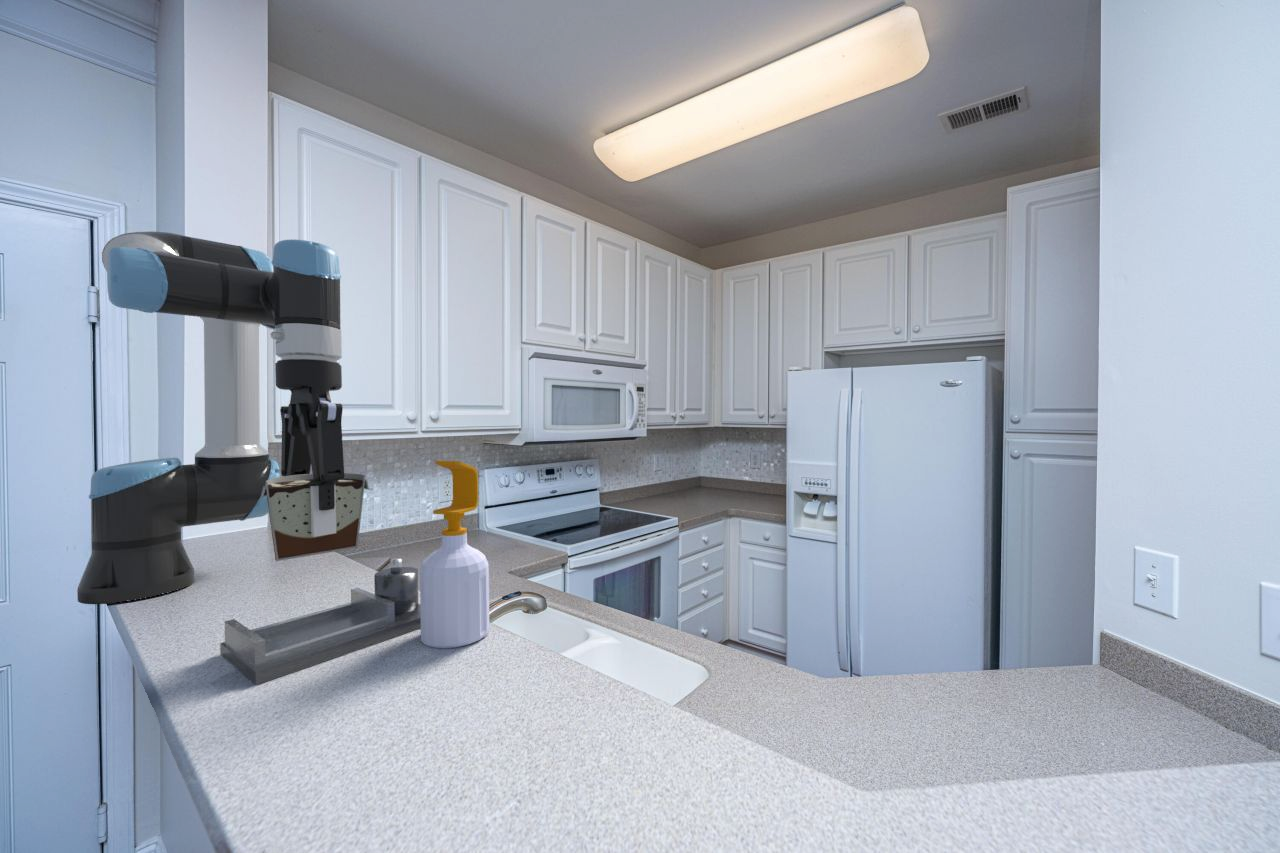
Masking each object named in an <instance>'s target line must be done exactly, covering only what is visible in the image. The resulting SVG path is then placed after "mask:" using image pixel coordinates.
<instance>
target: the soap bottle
mask: <svg viewBox="0 0 1280 853" xmlns="http://www.w3.org/2000/svg"><path fill="white" fill-rule="evenodd" d="M434 465H436V466H440V467H442V468H445V469H447V470H449V471H450V472H451V476H452V501H451V504H450V505H449V506H445V507H442V508H438V509H434V510H433V511H432V512H433V514H434V515H443V520H446V521H447V528H444V529H441V545H440V547H439V548H437V549H436V550H435V551H433V552H432V553H431V554H429V555H428V556H427V557H426V558H425V559H424V560H423V561H422V562H421V566H420V569H419V588H420V589H419V595H420V596H419V598H420V600H419V602H420V603H419V604H420V609H421V628H420V640H421V642H422V643H423V644H424V645H425V646H428V647H432V648H436V649H453V648H459V647H465V646H468V645H470V644H471V645H472V644H473V643H476V642H478V641H480V640H482V639H483V638H485V637H486V636H487V635H488V633H489V631H490V628H491V627H490V569H489V568H490V566H489V565H490V564H489V561H488V559H487V557H486V555H485V554H484V553H483V552H481V551H480V550H479V549H477V548H474V547H472V546H470V544H468V530H467V527H465V526H464V527H462V526H461V524H462V523H461V520H462V519H465V513H468V512H472V511H475V510H476V509H477V507H478V505H479V472H478V469H477V468H476V467H475V466H473V465H470V464H468V463H465V462H463V461H459V460H457V461H456V460H435V464H434Z"/></svg>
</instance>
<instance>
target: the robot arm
mask: <svg viewBox="0 0 1280 853" xmlns="http://www.w3.org/2000/svg"><path fill="white" fill-rule="evenodd" d="M272 252H273V254H272V259H271V258H270V257H269V256H268V254H266V253H265V252H263V251H260V250H256V249H252V248H249V247H248V248H247V247H244V246H242V245H236V244H230V243H224V242H220V241H219V242H218V241H215V240H214V241H213V240H208V239H203V238H198V237H197V238H196V237H191V236H187V235H182V234H178V233H172V232H167V231H165V232H163V231H134V232H133V231H132V232H127V233H123V234H120V235H116V236H114V237H112V238H111V239H109V240H108V241H107V242H106V244H105V245H104V247H103V249H102V252H101V260H102V265H103V267H104V269H105V271H106V276H107V277H106V278H107V280H106V281H107V283H106V284H107V294H108V299H109V302H110V303H111V304H112V305H113V306H115V307H116V308H121V309H126V310H134V311H139V312H142V313H147V314H148V313H149V314H152V313H159V314H169V315H177V316H189V317H199V318H200V319H201V320H202V322H203V355H204V356H203V361H204V362H203V371H204V373H203V374H204V377H203V378H204V379H203V380H204V445H203V447H202V448H200V449H199V450H198V451H197V452H195V453H194V463H193V464H182V460H180V458H178V457H166V458H155V459H149V460H140V461H134V462H128V463H127V462H126V463H120V464H114V465H110V466H106V467H103V468H100V469H98V470H96V471H95V472H94V473H93V474H92V475H91V478H90V494H89V495H88V500H90V505H91V506H90V508H91V509H90V522H91V523H90V524H91V526H90V527H91V528H90V529H91V530H90V533H91V535H90V536H91V538H90V540H91V554H90V557H89V559H88V562H87V564H86V566H85V569H84V571H83V573H82V576H81V578H80V581H79V583H78V586H77V590H76V592H77V602H78V603H81V604H83V605H84V604H85V605H107V604H108V605H109V604H117V603H116V602H120V603H122V602H121V601H127V600H134V601H136V600H135V599H140V598H145V597H150V598H152V597H151V596H155V597H157V596H156V595H159V594H162V593H167V592H170V591H174V590H177V589H180V590H182V589H181V588H183V589H185V588H187V587H189V586H191V585H193V584H194V583H195V581H194V580H196V579H195V568H194V565H193V564H192V562H191V560H190V557H189V555H188V553H187V551H186V549H185V547H184V545H183V542H182V541H183V540H182V528H183V527H192V526H199V525H200V526H201V525H209V524H215V523H216V524H217V523H223V522H231V521H241V522H242V521H243V522H244V521H246V520H250V519H255V518H261V517H264V516H266V515H267V514H269V508H268V501H267V495H266V496H264V497H263V500H262V499H261V494H262V490H263V486H265V485H266V481H267V480H269V479H272V478H277V477H283V476H291V475H301V474H313V479H314V480H312V481H310V482H308V486H309V487H310V490H311V536H312V537H317V536H323V535H329V534H335V533H336V490H335V484H337V483H338V480H343V479H344V473H345V465H344V464H345V462H344V447H343V446H344V444H343V430H342V427H343V426H342V417H343V404H342V403H332V399H331V395H330V392H334V391H340V390H341V389H342V387H343V383H342V382H343V377H342V365H340V362H338V360H341V359H342V358H343V356H342V355H343V353H342V346H343V345H342V330H341V279H342V274H341V272H340V261H339V256H338V253H337V252H336V251H335V250H334V249H333V248H331V247H330V246H328V245H325V244H323V243H322V244H321V243H320V242H314V241H310V240H304V239H283V240H279V241H278V242H276V243H275V244H274V246H273V251H272ZM261 325H262V326H263V327H265V328H268V329H271V330H274V331H271V333H270V337H271V339H273V340H275V342H274V343H275V348H274V349H275V350H274V351H275V355H276V356H277V358H280V360H277V361H276V362H275V364H274V366H275V368H274V369H275V370H274V371H275V372H274V373H275V386H276V389H277V388H278V389H279V390H284V391H290V392H291V393H290V400H289V403H288V406H287V405H286V406H285V405H282V406H281V407H280V409H279V410H280V411H279V412H280V418H281V469H280V466H279V463H278V462H277V461H276V460H273V459H272V458H270V457H269V456H270V455H269V454H270V453H269V451H268V450H267V449H265V448H264V447H263V446H262V445H261V438H260V435H261V434H260V433H261V432H260V426H261V425H260V424H261V423H260V326H261ZM311 472H312V473H311ZM193 582H194V583H193ZM192 583H193V584H192ZM190 584H191V585H190ZM188 585H189V586H188ZM186 586H187V587H186ZM184 587H185V588H184ZM177 591H178V590H177ZM174 592H175V591H174ZM167 594H168V593H167ZM159 596H160V595H159ZM145 599H146V598H145ZM140 600H141V599H140Z"/></svg>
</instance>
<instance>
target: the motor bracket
mask: <svg viewBox="0 0 1280 853" xmlns="http://www.w3.org/2000/svg"><path fill="white" fill-rule="evenodd" d="M389 560H390V568H386V569H382V570H379V571H378V572H375V574H374V579H373V580H374V593H372V592H370V591H368V590H364V589H363V588H359V587H355V588H351V589H350V602H347V603H344V604H341V605H340V604H339V605H337V606H333V607H329V608H325V609H322V610H318V611H315V612H311V613H307V614H304V615H300V616H297V617H294V618H290V619H287V620H286V619H285V620H283V621H282V620H281V621H278V622H274V623H272V624H267V625H263V626H260V627H256V628H253V629H249V628H248V627H247V626H245V625H244V624H242V623H241V622H239V621H237V620H236V619H234V618H233V619H229V620H225V621H224V642H221V643H219V650H220V651H219V652H220V653H219V654H220V656H221V657H222V658H223V659H224V660H226V661H227V662H228V663H230V664H231V665H232V666H233V667H234V668H235V669H236V670H237V671H239V672H240V673H241V674H242V675H243V676H244V677H246V678H247V679H248V680H249V681H250V682H252V683H253V684H254V685H255V686H258V685H261V684H263V683H266V682H269V681H273V680H274V679H277V678H278V679H279V678H281V677H283V676H286V675H289V674H291V673H294V672H297V671H300V670H305V669H306V668H310V667H312V666H316V665H318V664H322V663H325V661H329V660H333V659H335V658H338V657H341V656H344V655H346V654H350V653H352V652H355V651H359V650H361V649H365V648H367V647H369V646H373V645H376V644H379V643H381V642H384V641H386V640H391V639H393V638H396V637H399V636H401V635H404V634H407V633H411V632H413V631H417V630H419V629H421V609H420V603H419V570H418V568H417V567H414V566H413V567H412V566H403V558H401V557H394V558H391V559H389Z"/></svg>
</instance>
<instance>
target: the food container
mask: <svg viewBox="0 0 1280 853" xmlns="http://www.w3.org/2000/svg"><path fill="white" fill-rule="evenodd" d="M312 480H314V479H313V473H310V474H301V475H291V476H280V477H277V478H272V479H269V480H267V481H266V485H265V486H263V490H262V494H261V499H262V500H263V497H264V496H266V495H267V501H268V508H269V513H268V514H269V516H268V517H269V521H270V528H271V529H270V530H271V537H272V544H273V549H274V550H273V551H274V557H275V558H274V559H275V562H281V561H286V560H293V559H298V558H304V557H309V556H315V555H316V556H317V555H323V554H329V553H334V552H339V551H346V550H347V551H348V550H352V549H359V548H358V547H359V538H360V537H359V536H360V529H361V520H362V510H363V503H364V502H363V501H364V492H365V490H370V488H369V483H368V479H366V475H365V474H363V473H355V472H354V473H353V472H351V473H350V472H347V473H346V472H344V479H343V480H338V483H337V484H335V490H336V533H335V534H329V535H323V536H317V537H312V536H311V490H310V487H309V486H308V482H310V481H312Z"/></svg>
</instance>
